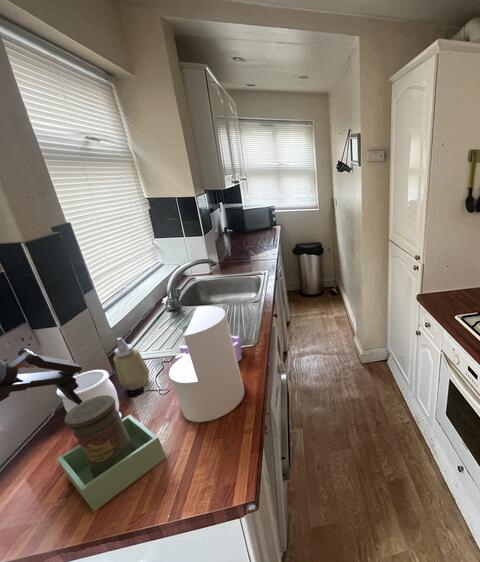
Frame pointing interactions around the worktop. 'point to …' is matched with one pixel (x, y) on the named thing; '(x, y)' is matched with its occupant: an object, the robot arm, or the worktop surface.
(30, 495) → the worktop surface
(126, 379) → the squeeze bottle
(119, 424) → the container
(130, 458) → the tub
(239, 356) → the clip
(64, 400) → the jar
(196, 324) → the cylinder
